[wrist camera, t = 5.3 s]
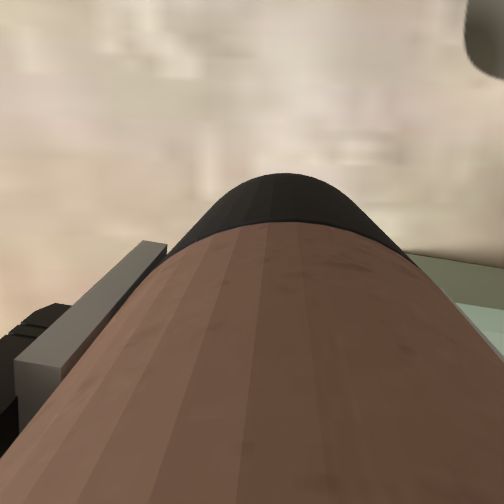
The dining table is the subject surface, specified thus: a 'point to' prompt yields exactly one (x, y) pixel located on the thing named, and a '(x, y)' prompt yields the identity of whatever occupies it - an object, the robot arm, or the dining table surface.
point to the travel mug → (274, 374)
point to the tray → (471, 292)
